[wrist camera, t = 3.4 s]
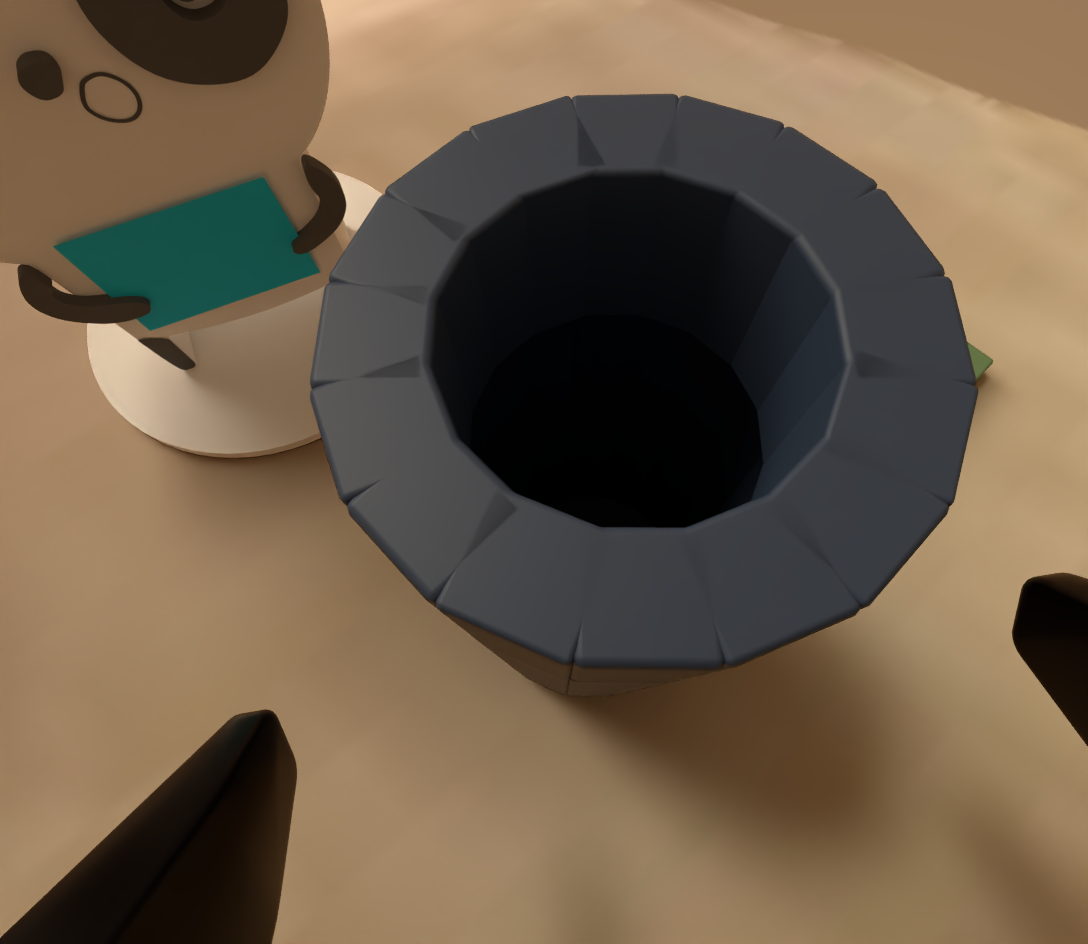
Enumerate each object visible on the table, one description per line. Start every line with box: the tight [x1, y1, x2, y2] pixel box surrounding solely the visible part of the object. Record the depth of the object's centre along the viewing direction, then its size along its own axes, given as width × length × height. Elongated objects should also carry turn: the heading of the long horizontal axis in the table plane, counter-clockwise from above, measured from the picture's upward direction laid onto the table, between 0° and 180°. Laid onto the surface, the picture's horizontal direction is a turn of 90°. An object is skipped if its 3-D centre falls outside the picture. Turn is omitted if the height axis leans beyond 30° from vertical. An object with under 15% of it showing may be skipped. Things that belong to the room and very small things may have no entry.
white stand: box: [0, 0, 383, 458], centre depth 14 cm, size 12×11×15 cm
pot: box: [310, 94, 978, 696], centre depth 12 cm, size 6×6×13 cm
